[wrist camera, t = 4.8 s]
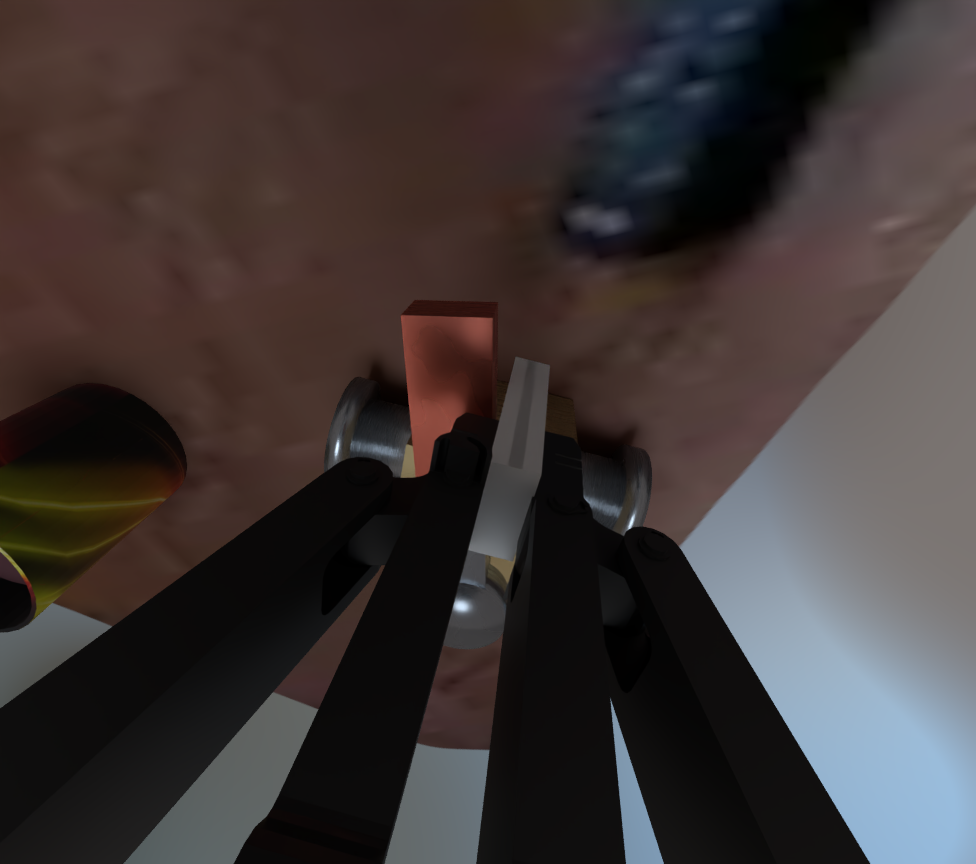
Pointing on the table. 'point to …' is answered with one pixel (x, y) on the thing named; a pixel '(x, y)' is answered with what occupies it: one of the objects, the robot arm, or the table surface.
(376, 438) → the valve
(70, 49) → the table surface
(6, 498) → the mug
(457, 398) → the lever
